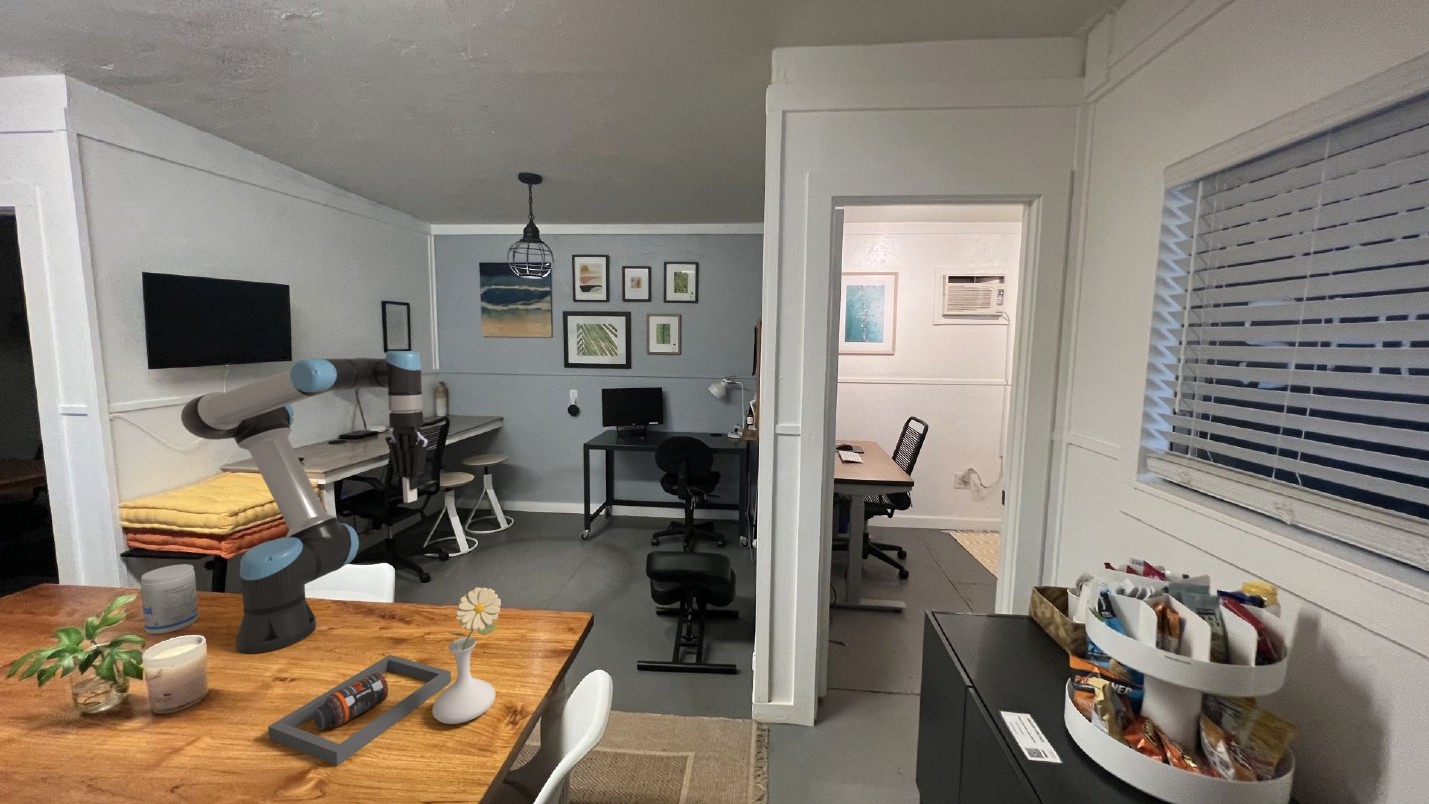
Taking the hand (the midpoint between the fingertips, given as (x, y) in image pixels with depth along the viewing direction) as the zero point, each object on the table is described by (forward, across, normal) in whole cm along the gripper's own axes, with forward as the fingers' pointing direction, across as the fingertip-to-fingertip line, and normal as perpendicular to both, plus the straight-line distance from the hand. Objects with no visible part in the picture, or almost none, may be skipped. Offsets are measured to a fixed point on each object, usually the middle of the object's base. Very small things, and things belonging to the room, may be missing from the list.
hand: (410, 500), depth 134 cm
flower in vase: (+33, -40, +22) cm, 56 cm away
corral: (+32, -21, +29) cm, 48 cm away
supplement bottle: (+29, -21, +26) cm, 44 cm away
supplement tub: (+33, +56, +24) cm, 69 cm away
